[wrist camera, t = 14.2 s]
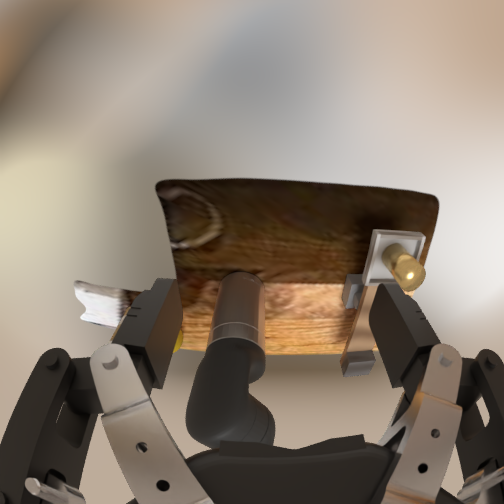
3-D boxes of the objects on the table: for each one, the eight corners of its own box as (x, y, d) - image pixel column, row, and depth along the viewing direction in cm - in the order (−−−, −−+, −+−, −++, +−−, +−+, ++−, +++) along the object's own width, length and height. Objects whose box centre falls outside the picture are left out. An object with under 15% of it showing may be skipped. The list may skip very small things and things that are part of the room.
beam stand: (374, 296, 55) (384, 315, 50) (341, 297, 55) (348, 317, 50) (381, 274, 52) (393, 292, 47) (347, 274, 52) (355, 293, 47)
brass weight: (399, 268, 41) (418, 291, 35) (378, 266, 41) (396, 291, 34) (407, 244, 39) (429, 266, 33) (386, 241, 39) (407, 264, 32)
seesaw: (370, 358, 55) (374, 373, 51) (333, 361, 55) (336, 377, 52) (416, 228, 40) (429, 240, 36) (369, 225, 40) (380, 237, 36)
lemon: (159, 323, 61) (149, 348, 54) (173, 314, 59) (164, 339, 52) (175, 337, 63) (168, 362, 56) (190, 329, 61) (183, 354, 54)
